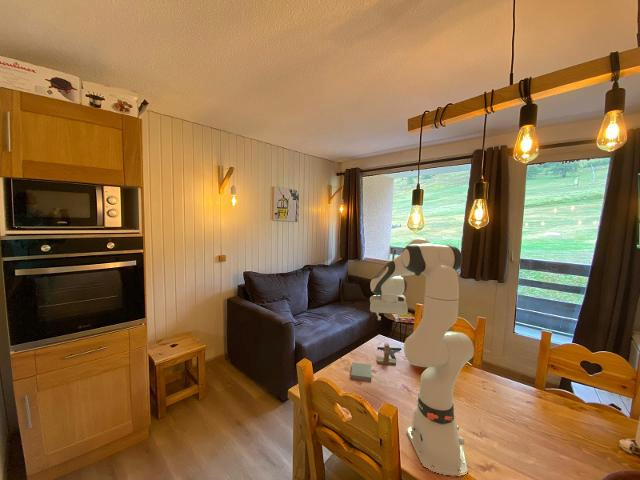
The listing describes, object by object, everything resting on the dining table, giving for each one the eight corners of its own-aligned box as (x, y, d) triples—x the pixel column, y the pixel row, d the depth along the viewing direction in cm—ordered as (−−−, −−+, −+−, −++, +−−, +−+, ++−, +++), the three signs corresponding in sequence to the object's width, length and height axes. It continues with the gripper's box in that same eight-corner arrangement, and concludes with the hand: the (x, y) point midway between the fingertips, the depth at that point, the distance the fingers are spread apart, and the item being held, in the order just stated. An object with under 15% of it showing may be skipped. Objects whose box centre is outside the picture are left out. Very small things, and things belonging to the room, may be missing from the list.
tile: (370, 368, 142) (371, 382, 130) (352, 366, 144) (350, 379, 132) (371, 364, 142) (371, 377, 130) (352, 362, 144) (351, 374, 132)
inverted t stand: (395, 365, 146) (396, 346, 145) (377, 363, 147) (378, 345, 146) (394, 361, 150) (395, 343, 149) (376, 359, 151) (377, 342, 150)
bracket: (381, 361, 150) (382, 356, 150) (377, 348, 165) (377, 344, 165) (407, 363, 150) (407, 358, 149) (400, 350, 164) (401, 345, 164)
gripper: (370, 296, 144) (369, 321, 145) (408, 298, 141) (407, 324, 142) (369, 293, 150) (368, 317, 151) (406, 295, 147) (405, 319, 148)
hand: (388, 320), depth 146 cm, fingers open, 8 cm apart
